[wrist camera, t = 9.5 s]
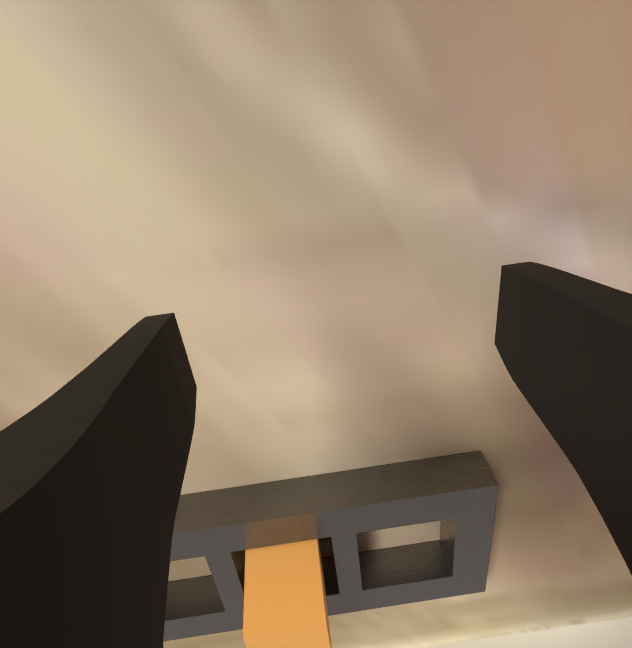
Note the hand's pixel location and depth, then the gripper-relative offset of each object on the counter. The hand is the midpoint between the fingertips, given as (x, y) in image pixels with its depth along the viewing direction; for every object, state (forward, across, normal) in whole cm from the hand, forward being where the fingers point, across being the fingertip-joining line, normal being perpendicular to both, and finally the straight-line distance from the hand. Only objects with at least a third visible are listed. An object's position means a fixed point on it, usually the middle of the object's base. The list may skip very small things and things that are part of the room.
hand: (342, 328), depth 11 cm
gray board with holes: (+10, +4, +21) cm, 24 cm away
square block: (+10, +4, +20) cm, 23 cm away
